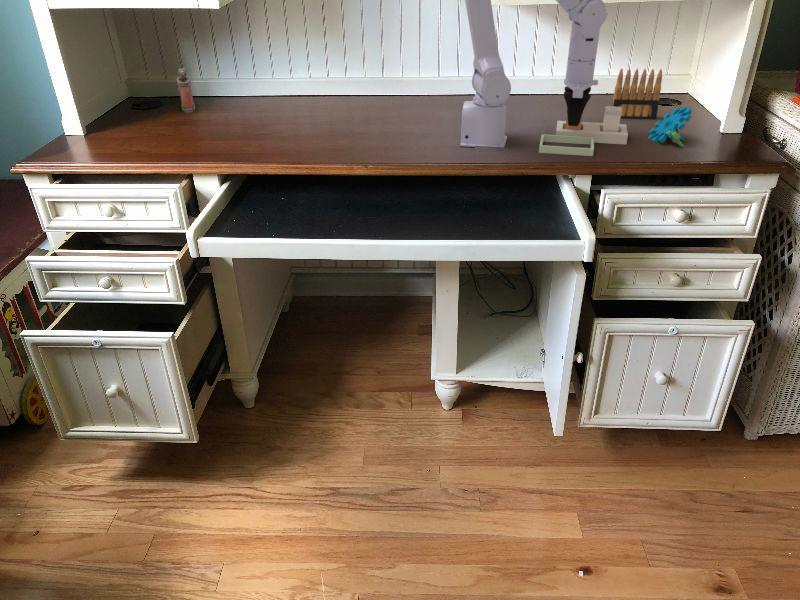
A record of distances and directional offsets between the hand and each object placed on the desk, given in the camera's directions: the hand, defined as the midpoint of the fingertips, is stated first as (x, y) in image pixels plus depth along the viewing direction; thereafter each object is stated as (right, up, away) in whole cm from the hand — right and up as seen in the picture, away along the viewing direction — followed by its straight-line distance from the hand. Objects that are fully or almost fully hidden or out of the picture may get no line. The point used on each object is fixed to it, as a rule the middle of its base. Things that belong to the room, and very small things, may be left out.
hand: (573, 123), depth 142 cm
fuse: (+8, -3, 0) cm, 8 cm away
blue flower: (+20, -5, -2) cm, 21 cm away
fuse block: (+4, -3, +1) cm, 5 cm away
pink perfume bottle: (-95, +11, +28) cm, 99 cm away
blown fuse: (0, -2, +1) cm, 3 cm away
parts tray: (-3, -7, -5) cm, 10 cm away
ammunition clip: (+18, +4, +13) cm, 22 cm away
